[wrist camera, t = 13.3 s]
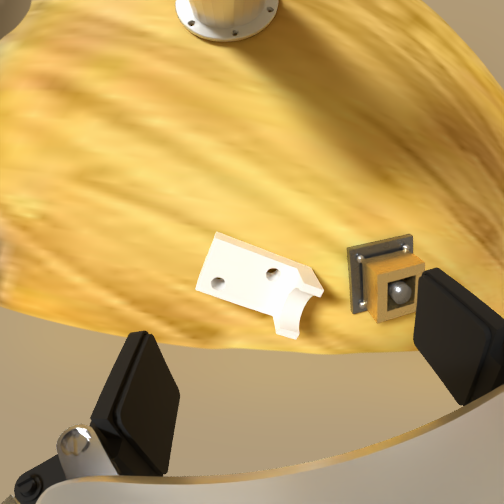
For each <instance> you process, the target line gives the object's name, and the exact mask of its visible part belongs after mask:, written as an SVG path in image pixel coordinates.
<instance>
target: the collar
mask: <svg viewBox="0 0 504 504" xmlns="http://www.w3.org/2000/svg"><path fill="white" fill-rule="evenodd" d="M362 270H363V297H364V306H365V307H366V309H367V310H368V311H369V313H370V314H371V315H372V317H373V318H374V320H375V321H376V322H377V323H380V322H383V321H387V320H390V319H393V318H396V317H400V316H403V315H406V314H409V313H412V312H415V311H416V306H417V293H418V279H419V277H420V276H421V275H422V273H423V272H424V271H425V262H424V261H422V260H421V259H420V258H418V257H417V256H415V255H414V254H412V253H411V252H410V251H408V250H407V249H405V250H401V251H397V252H393V253H388V254H384V255H380V256H376V257H371V258H367V259H363V260H362ZM400 279H401V280H402V281H403V282H404V283H405V284H407V285H408V286H409V287H410V288H411V291H412V293H411V297H410V299H409V300H408V301H407V302H406V303H404V304H397V303H396V302H395V301H394V300H393V299H392V298H391V297H390V296H389V295H388V293H387V291H388V282H392V281H396V280H400Z"/></svg>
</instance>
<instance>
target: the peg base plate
mask: <svg viewBox="0 0 504 504" xmlns="http://www.w3.org/2000/svg"><path fill="white" fill-rule="evenodd" d="M405 249H407V250H408V251H410V252H411V253H412V254H413V236H412V235H410V234H407V235H402V236H398V237H393V238H389V239H384V240H380V241H375V242H371V243H366V244H362V245H357V246H353V247H348V248H347V257H348V270H349V284H350V302H351V312H352V313H353V314H355V313H359V312H363V311H366V310H367V309H366V307H365V306H364V297H363V270H362V260H363V259H367V258H371V257H376V256H380V255H384V254H388V253H393V252H397V251H401V250H405ZM387 293H388V295H389V296H390V297H391V298H392V299H393V300H394V301H395V302H396V303H397V304H404V303H406V302H407V301H408V300H409V299H410V297H411V293H412V291H411V288H410V287H409V286H408V285H407V284H405V283H404V282H403V281H402V280H401V279H400V280H396V281H392V282H388V291H387Z"/></svg>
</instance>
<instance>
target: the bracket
mask: <svg viewBox="0 0 504 504" xmlns="http://www.w3.org/2000/svg"><path fill="white" fill-rule="evenodd" d="M271 268H276V269H277V270H276V271H275V272H273V273H269V272H267V271H268V270H269V269H271ZM216 277H220V278H222V279H217V278H216ZM195 290H198V291H201V292H203V293H206V294H209V295H212V296H215V297H218V298H220V299H223V300H226V301H229V302H232V303H235V304H238V305H241V306H244V307H247V308H250V309H253V310H256V311H259V312H262V313H265V314H268V315H271V316H273V319H274V324H275V329H276V334H279V335H282V336H285V337H289V338H292V339H297V337H298V336H299V334H300V333H299V321H300V317H301V314H302V311H303V309H304V306H305V305H306V303H307V301H308V300H309V299H310V298H311V297H312V296H317V297H321V295H322V293H323V292H324V289H323V288H322V286H321V284H320V282H319V281H318V279H317V277H316V275H315V274H314V272H313V270H312V268H311V267H308V266H306V265H303V264H301V263H298V262H295V261H293V260H290V259H288V258H285V257H282V256H280V255H277V254H275V253H272V252H269V251H267V250H264V249H261V248H259V247H256V246H254V245H251V244H248V243H246V242H243V241H240V240H238V239H235V238H232V237H230V236H227V235H225V234H222V233H219V232H217V231H216V234H215V237H214V239H213V242H212V244H211V247H210V249H209V252H208V255H207V257H206V259H205V262H204V265H203V267H202V270H201V272H200V275H199V278H198V281H197V285H196V289H195Z"/></svg>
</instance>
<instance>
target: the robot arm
mask: <svg viewBox="0 0 504 504" xmlns="http://www.w3.org/2000/svg"><path fill="white" fill-rule="evenodd" d="M278 3H279V2H278V0H176V2H175V5H176V12H177V15H178V18H179V20H180V22H181V23H182V24H183V25H184V27H185V28H186V29H187V30H189V31H190V32H191V33H192V34H194V35H196V36H198V37H200V38H204V39H207V40H211V41H218V42H230V41H238V40H242V39H245V38H249V37H251V36H253V35H255V34H257V33H259V32H260V31H262V30H263V29H265V28H266V27H267V26H268V25H269V24H270V23H271V21H272V19H273V18H274V16H275V14H276V11H277V8H278ZM268 11H270V12H268ZM192 24H194V25H193V26H190V25H192ZM234 34H237V36H233V35H234ZM413 340H414V344H415V346H416V347H417V349H418V350H419V351H420V353H421V354H422V355H423V357H425V359H426V360H427V362H428V363H429V364H430V366H431V367H432V368H433V370H434V371H435V372H436V374H437V375H438V376H439V378H440V379H441V381H442V382H443V383H444V385H445V386H446V388H447V389H448V390H449V392H450V393H451V394H452V396H453V397H454V399H455V400H456V402H457V403H458V404H459V405H463V407H461V408H460V409H458V410H456V411H454V412H452V413H450V414H448V415H446V416H443V417H441V418H439V419H437V420H435V421H433V422H430V423H428V424H426V425H424V426H421V427H419V428H416V429H414V430H412V431H409V432H407V433H404V434H402V435H399V436H396V437H394V438H391V439H388V440H386V441H383V442H380V443H377V444H374V445H371V446H368V447H364V448H361V449H358V450H355V451H351V452H348V453H344V454H341V455H337V456H333V457H329V458H325V459H321V460H316V461H312V462H307V463H303V464H297V465H293V466H287V467H281V468H276V469H269V470H263V471H255V472H246V473H237V474H227V475H210V476H187V477H186V476H184V477H163V474H166V473H167V472H168V466H169V460H170V452H171V447H172V440H173V435H174V429H175V423H176V417H177V411H178V406H179V399H180V393H179V389H178V387H177V385H176V383H175V381H174V379H173V377H172V375H171V373H170V371H169V369H168V366H167V364H166V362H165V360H164V358H163V356H162V353H161V351H160V349H159V347H158V345H157V342H156V340H155V338H154V336H153V335H152V334H148V332H147V331H139V332H132V333H130V334H129V335H128V337H127V339H126V341H125V343H124V346H123V348H122V350H121V352H120V354H119V356H118V358H117V360H116V362H115V364H114V366H113V368H112V370H111V373H110V375H109V377H108V379H107V381H106V383H105V386H104V388H103V390H102V392H101V394H100V397H99V399H98V401H97V404H96V406H95V408H94V410H93V413H92V415H91V417H90V418H91V420H92V421H91V423H90V426H88V425H85V424H79V425H78V424H77V425H74V426H71V427H69V428H68V429H66V430H65V431H64V432H63V433H62V434H61V435H60V437H59V438H58V441H57V445H56V447H57V453H58V454H57V455H55V456H54V457H52V458H50V459H49V460H47V461H45V462H43V463H42V464H40V465H38V466H36V467H34V468H33V469H31V470H29V471H27V472H25V473H24V474H22V475H21V476H20V477H19V479H18V480H17V482H16V484H15V488H14V492H15V497H13V496H12V495H10V496H9V497H8V498H7V499H6V500H5V501H3V502H2V504H504V319H503V318H502V317H501V316H500V315H498V314H497V313H496V312H495V311H494V310H492V309H491V308H490V307H489V306H487V305H486V304H485V303H484V302H482V301H481V300H480V299H479V298H477V297H476V296H475V295H474V294H472V293H471V292H470V291H468V290H467V289H466V288H465V287H463V286H462V285H461V284H459V283H458V282H457V281H455V280H454V279H453V278H451V277H450V276H449V275H447V274H446V273H445V272H443V271H442V270H440V269H439V268H433V269H430V270H427V271H424V272H423V273H422V275H421V276H420V277H419V279H418V293H417V306H416V317H415V327H414V336H413Z"/></svg>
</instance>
